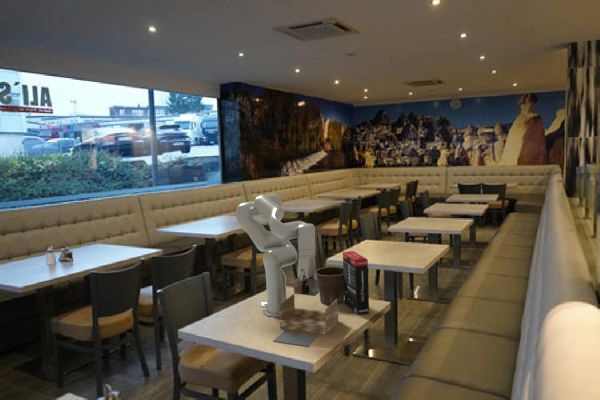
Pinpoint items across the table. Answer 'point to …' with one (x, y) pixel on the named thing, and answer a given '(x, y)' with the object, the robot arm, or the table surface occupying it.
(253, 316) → the table surface
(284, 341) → the rubber mat
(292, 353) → the table surface
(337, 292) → the plant pot
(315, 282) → the walnut block
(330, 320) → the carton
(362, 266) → the graphics card box
